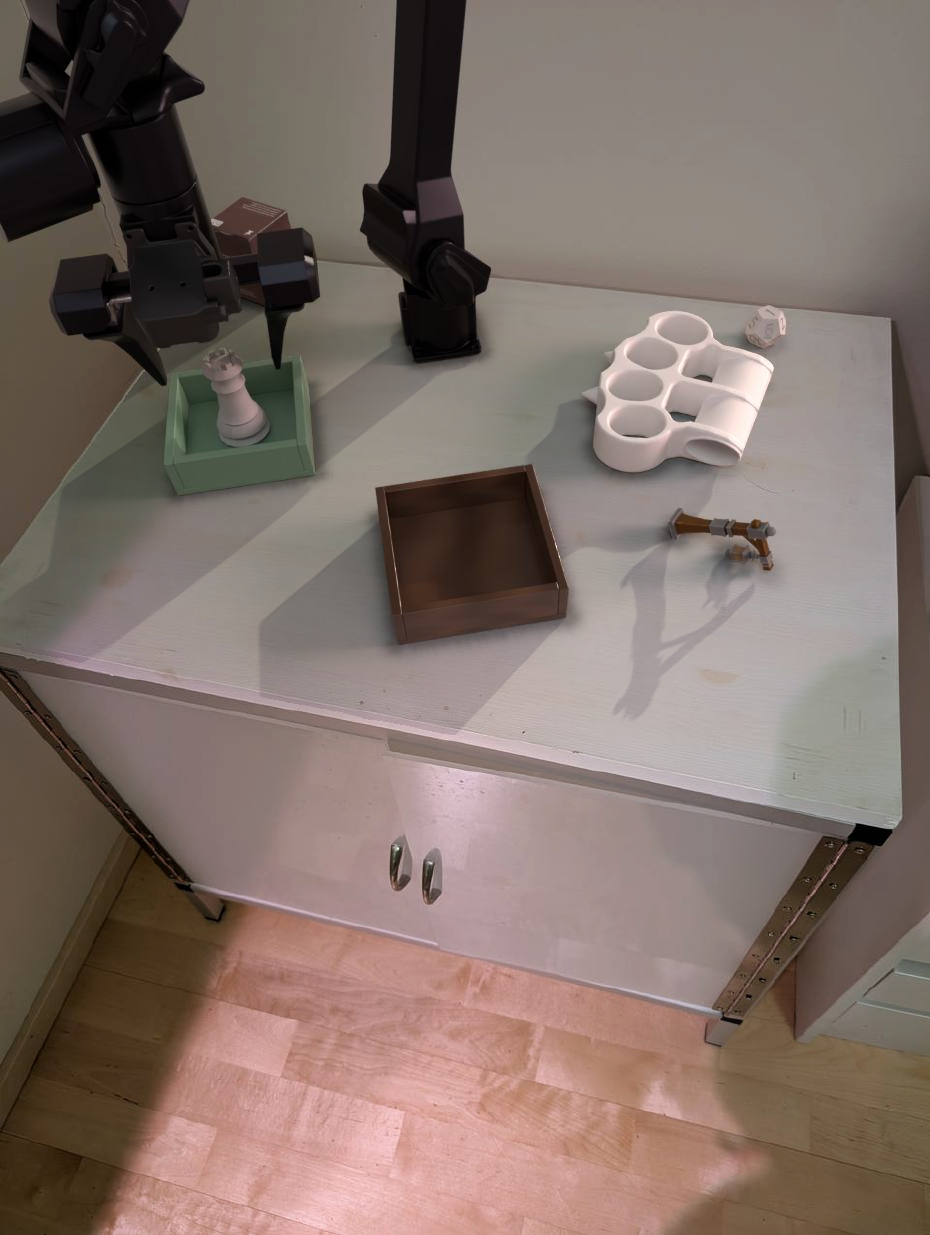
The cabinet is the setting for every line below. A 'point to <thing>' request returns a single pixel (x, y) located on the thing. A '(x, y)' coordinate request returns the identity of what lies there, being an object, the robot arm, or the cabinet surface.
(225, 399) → the rook chess piece
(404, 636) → the walnut tray
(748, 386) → the white brass knuckles
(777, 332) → the game die
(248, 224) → the box
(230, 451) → the green bin
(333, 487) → the cabinet surface
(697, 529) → the wooden post with brackets
